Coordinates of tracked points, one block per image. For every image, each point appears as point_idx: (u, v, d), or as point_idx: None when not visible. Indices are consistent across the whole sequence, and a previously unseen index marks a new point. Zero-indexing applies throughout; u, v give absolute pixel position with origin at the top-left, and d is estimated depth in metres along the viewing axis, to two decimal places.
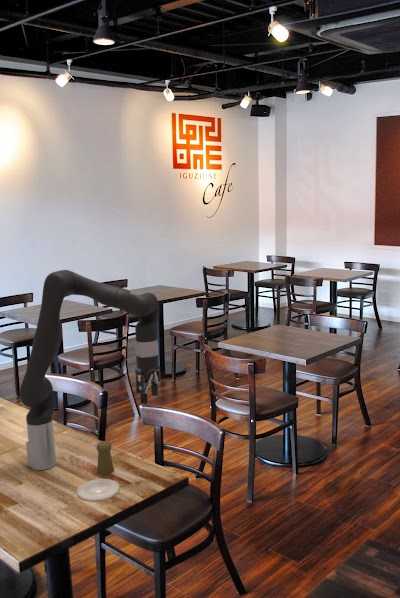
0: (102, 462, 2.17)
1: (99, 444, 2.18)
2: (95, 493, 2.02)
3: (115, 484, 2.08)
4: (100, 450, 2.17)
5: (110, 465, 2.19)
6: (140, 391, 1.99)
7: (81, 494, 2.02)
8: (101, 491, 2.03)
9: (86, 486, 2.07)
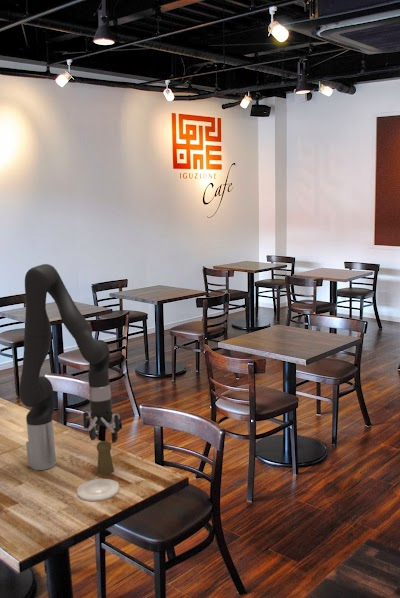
0: (102, 462, 2.17)
1: (99, 444, 2.18)
2: (95, 493, 2.02)
3: (115, 484, 2.08)
4: (100, 450, 2.17)
5: (110, 465, 2.19)
6: (120, 428, 2.15)
7: (81, 494, 2.02)
8: (101, 491, 2.03)
9: (86, 486, 2.07)
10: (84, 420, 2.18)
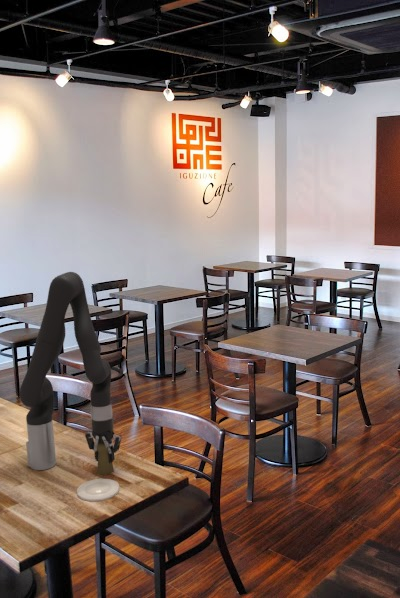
0: (102, 462, 2.17)
1: (99, 444, 2.18)
2: (95, 493, 2.02)
3: (115, 484, 2.08)
4: (100, 450, 2.17)
5: (110, 465, 2.19)
6: (117, 449, 2.17)
7: (81, 494, 2.02)
8: (101, 491, 2.03)
9: (86, 486, 2.07)
10: (88, 441, 2.20)
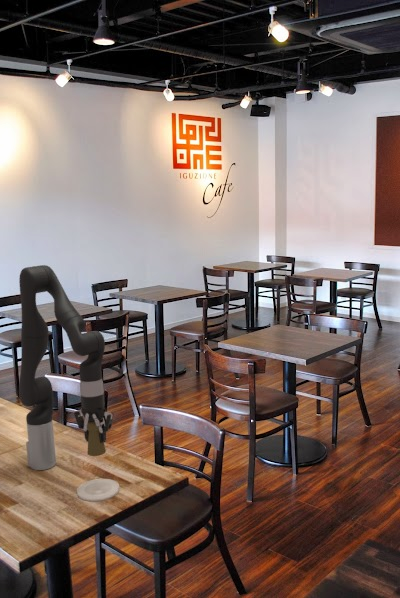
0: (93, 442, 2.01)
1: (89, 423, 2.01)
2: (95, 493, 2.02)
3: (115, 484, 2.08)
4: (90, 429, 2.00)
5: (101, 445, 2.02)
6: (109, 427, 2.01)
7: (81, 494, 2.02)
8: (101, 491, 2.03)
9: (86, 486, 2.07)
10: (77, 420, 2.03)
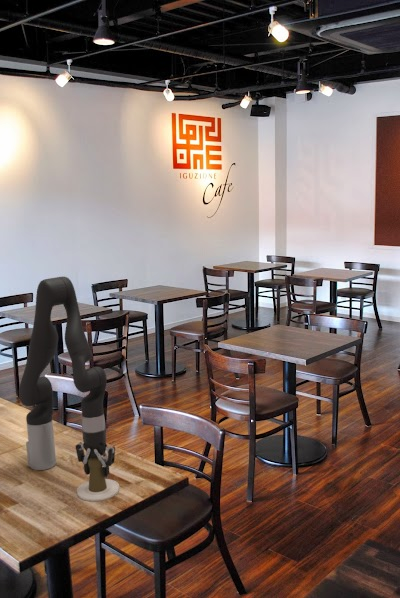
0: (94, 478, 2.03)
1: (91, 459, 2.03)
2: (95, 493, 2.02)
3: (115, 484, 2.08)
4: (92, 466, 2.02)
5: (102, 482, 2.04)
6: (112, 462, 2.02)
7: (81, 494, 2.02)
8: (101, 491, 2.03)
9: (86, 486, 2.07)
10: (77, 453, 2.05)
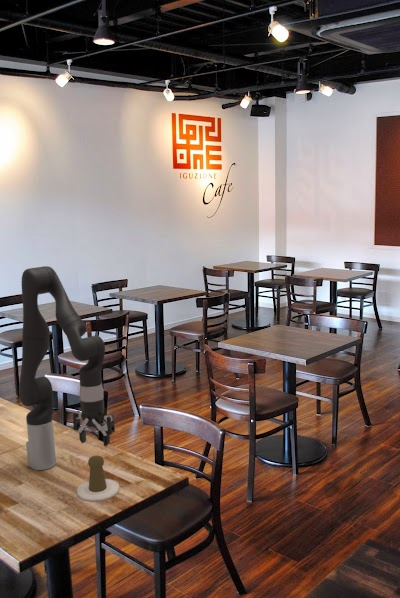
0: (94, 478, 2.03)
1: (91, 459, 2.03)
2: (95, 493, 2.02)
3: (115, 484, 2.08)
4: (92, 465, 2.02)
5: (102, 481, 2.04)
6: (113, 431, 2.00)
7: (81, 494, 2.02)
8: (101, 491, 2.03)
9: (86, 486, 2.07)
10: (74, 421, 2.03)
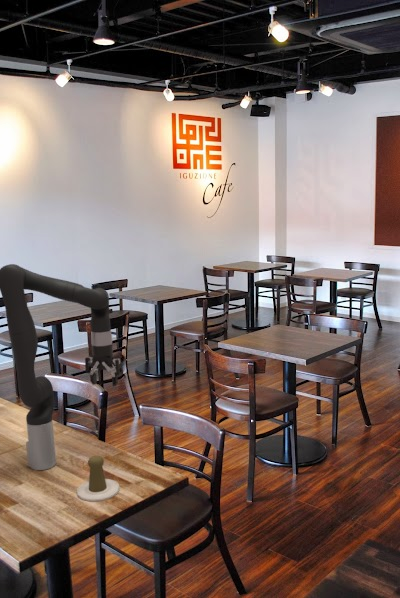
0: (94, 478, 2.03)
1: (91, 459, 2.03)
2: (95, 493, 2.02)
3: (115, 484, 2.08)
4: (92, 466, 2.02)
5: (102, 482, 2.04)
6: (120, 372, 2.25)
7: (81, 494, 2.02)
8: (101, 491, 2.03)
9: (86, 486, 2.07)
10: (86, 365, 2.28)
